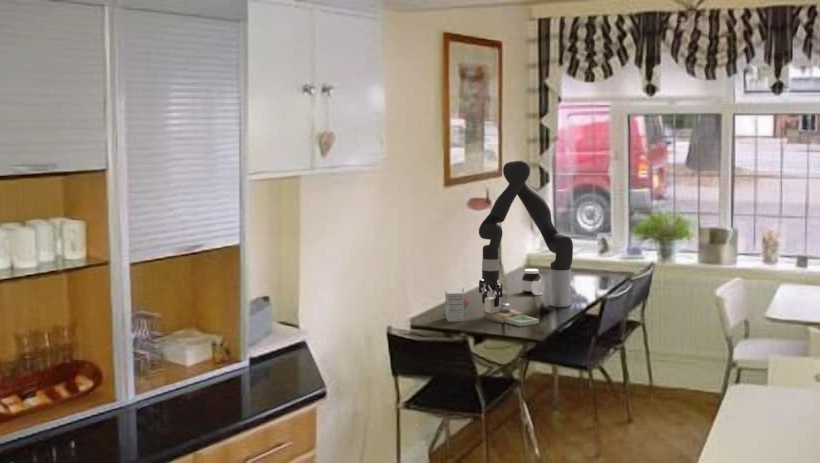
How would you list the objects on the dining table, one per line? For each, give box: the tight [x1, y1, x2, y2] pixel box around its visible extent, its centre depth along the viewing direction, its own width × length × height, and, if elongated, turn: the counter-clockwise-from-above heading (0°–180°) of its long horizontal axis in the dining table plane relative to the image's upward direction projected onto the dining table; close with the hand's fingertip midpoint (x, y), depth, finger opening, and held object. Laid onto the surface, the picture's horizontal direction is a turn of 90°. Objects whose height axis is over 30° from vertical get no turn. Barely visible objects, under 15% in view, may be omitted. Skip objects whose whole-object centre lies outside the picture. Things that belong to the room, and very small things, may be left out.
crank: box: [492, 295, 512, 312], centre depth 436 cm, size 13×5×7 cm, turn 22°
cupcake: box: [461, 287, 470, 315], centre depth 444 cm, size 9×8×12 cm
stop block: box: [484, 296, 498, 313], centre depth 433 cm, size 4×4×6 cm
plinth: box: [483, 307, 527, 324], centre depth 433 cm, size 13×13×3 cm
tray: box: [505, 315, 540, 328], centre depth 423 cm, size 10×10×2 cm
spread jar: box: [521, 268, 545, 296], centre depth 485 cm, size 12×11×12 cm
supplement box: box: [444, 289, 465, 323], centre depth 432 cm, size 7×7×13 cm
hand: (490, 304), depth 433 cm, fingers open, 8 cm apart
